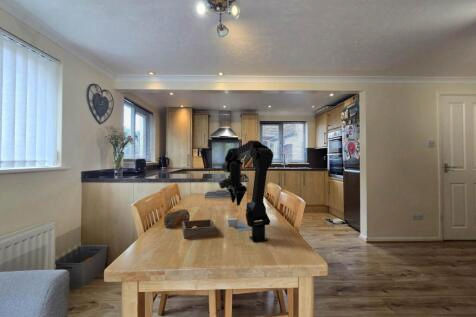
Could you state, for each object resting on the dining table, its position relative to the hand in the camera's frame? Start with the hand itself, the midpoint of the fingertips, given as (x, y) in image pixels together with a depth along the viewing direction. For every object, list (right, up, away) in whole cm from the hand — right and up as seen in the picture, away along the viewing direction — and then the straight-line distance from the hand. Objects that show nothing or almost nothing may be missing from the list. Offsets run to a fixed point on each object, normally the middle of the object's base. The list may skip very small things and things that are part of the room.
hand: (235, 204), depth 128 cm
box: (-17, -12, -12) cm, 24 cm away
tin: (-30, -12, +2) cm, 33 cm away
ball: (-18, -11, -14) cm, 26 cm away
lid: (-2, -13, +1) cm, 13 cm away
